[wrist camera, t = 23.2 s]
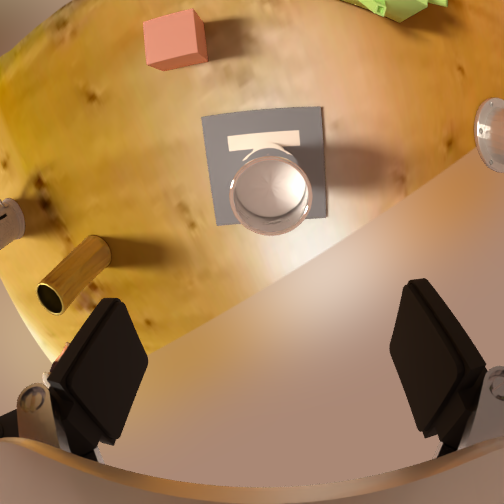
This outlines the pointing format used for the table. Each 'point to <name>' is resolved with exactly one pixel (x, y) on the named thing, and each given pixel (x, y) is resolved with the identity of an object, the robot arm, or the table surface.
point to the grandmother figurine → (46, 375)
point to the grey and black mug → (10, 222)
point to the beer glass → (270, 191)
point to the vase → (73, 274)
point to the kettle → (396, 7)
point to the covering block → (175, 40)
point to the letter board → (254, 134)
